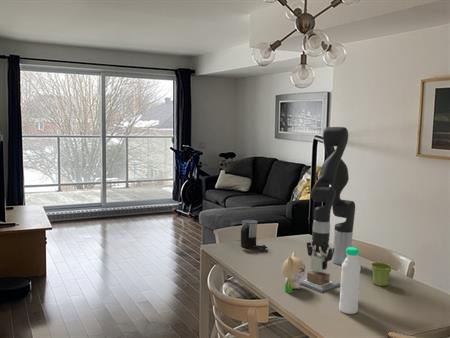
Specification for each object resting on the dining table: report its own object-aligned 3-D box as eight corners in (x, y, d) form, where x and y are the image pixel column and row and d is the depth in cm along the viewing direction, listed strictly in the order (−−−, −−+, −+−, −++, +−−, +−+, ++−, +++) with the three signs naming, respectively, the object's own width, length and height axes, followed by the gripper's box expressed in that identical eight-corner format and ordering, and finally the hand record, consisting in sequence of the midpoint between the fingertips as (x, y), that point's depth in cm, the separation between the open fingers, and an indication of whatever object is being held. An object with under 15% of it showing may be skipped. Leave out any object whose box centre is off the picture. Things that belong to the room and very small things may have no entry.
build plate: (315, 276, 212) (315, 273, 212) (340, 285, 202) (340, 282, 202) (295, 282, 203) (296, 279, 203) (321, 292, 193) (321, 289, 193)
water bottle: (336, 307, 178) (340, 245, 175) (353, 307, 178) (357, 245, 176) (342, 314, 171) (346, 250, 168) (360, 314, 172) (364, 251, 169)
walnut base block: (316, 277, 207) (317, 269, 207) (329, 282, 202) (329, 273, 202) (307, 281, 203) (307, 272, 202) (319, 285, 197) (320, 276, 197)
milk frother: (241, 243, 266) (242, 218, 264) (268, 245, 263) (269, 220, 262) (238, 250, 252) (239, 224, 250) (266, 252, 249) (268, 226, 248)
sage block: (317, 267, 205) (318, 254, 205) (326, 269, 202) (327, 257, 201) (310, 269, 202) (311, 256, 201) (319, 272, 198) (320, 258, 198)
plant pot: (390, 282, 209) (392, 264, 208) (391, 289, 200) (392, 270, 199) (369, 279, 212) (371, 261, 211) (369, 285, 203) (370, 267, 202)
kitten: (300, 295, 188) (302, 261, 187) (277, 291, 192) (278, 257, 190) (306, 284, 202) (308, 251, 201) (284, 280, 206) (286, 248, 204)
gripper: (339, 232, 197) (337, 270, 199) (313, 226, 208) (311, 261, 210) (329, 235, 192) (327, 273, 194) (303, 228, 203) (301, 264, 205)
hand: (319, 267), depth 202 cm, fingers closed on sage block, 5 cm apart
